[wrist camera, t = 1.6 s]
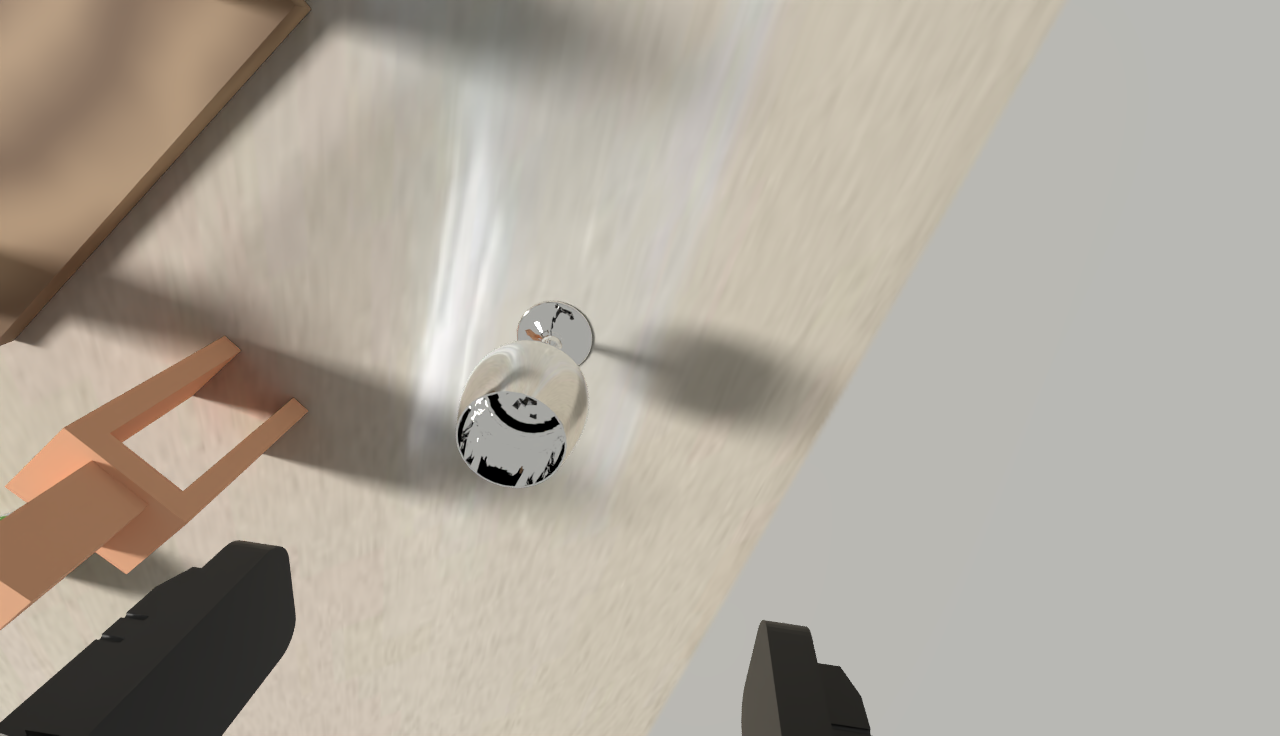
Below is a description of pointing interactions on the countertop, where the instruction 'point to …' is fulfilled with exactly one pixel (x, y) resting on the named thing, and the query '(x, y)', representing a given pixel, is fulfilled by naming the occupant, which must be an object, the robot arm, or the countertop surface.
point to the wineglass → (527, 399)
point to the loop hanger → (114, 485)
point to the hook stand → (106, 118)
